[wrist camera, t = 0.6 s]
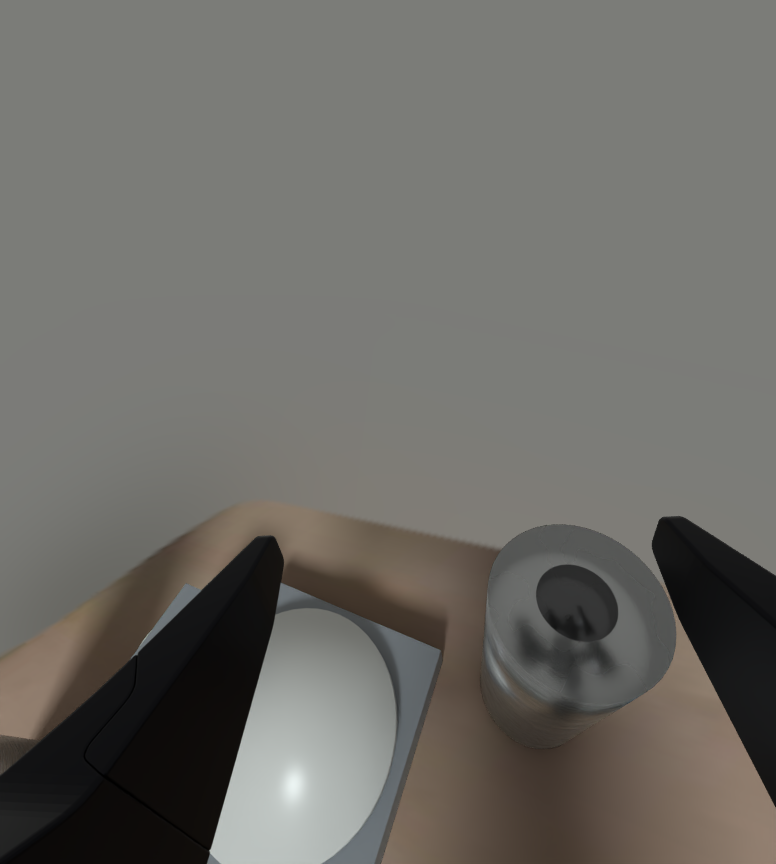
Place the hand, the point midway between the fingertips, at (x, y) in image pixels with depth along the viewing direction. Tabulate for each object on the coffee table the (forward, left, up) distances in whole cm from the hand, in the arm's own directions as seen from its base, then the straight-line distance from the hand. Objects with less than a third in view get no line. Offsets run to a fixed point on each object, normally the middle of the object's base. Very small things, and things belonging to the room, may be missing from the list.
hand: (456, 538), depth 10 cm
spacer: (+1, -3, -16) cm, 16 cm away
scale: (-5, +8, -16) cm, 18 cm away
